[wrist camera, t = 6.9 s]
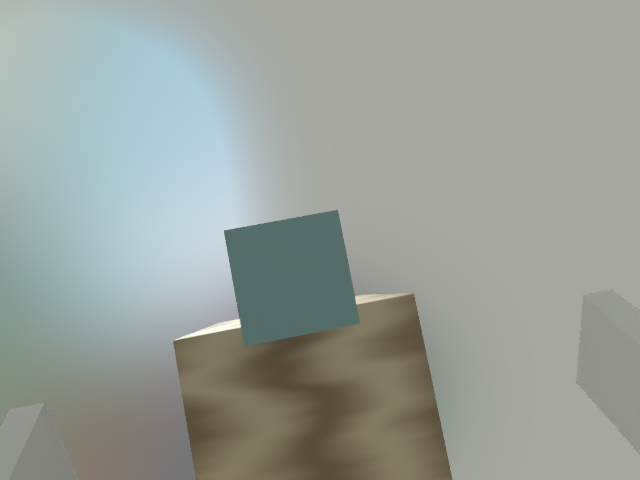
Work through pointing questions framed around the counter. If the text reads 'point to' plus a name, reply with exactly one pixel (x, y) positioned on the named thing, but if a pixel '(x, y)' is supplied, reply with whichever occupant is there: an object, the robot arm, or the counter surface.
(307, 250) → the teal bar
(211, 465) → the birch stand
